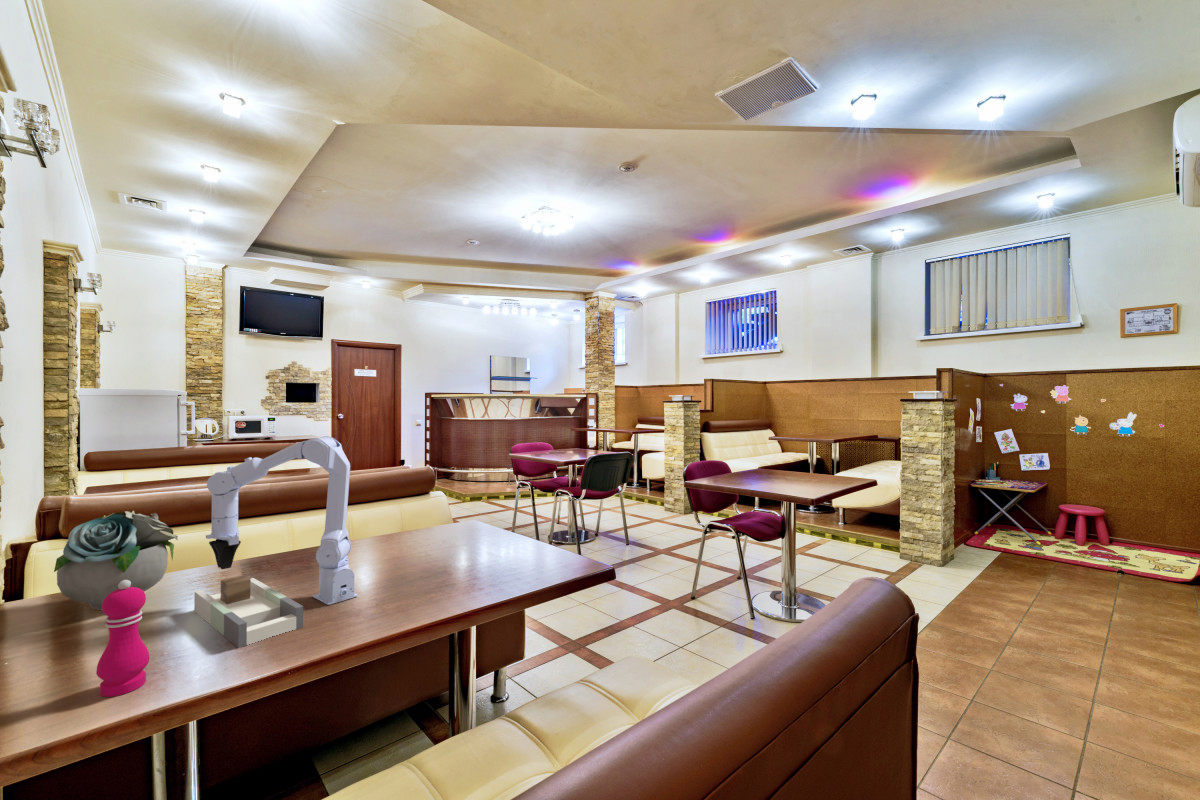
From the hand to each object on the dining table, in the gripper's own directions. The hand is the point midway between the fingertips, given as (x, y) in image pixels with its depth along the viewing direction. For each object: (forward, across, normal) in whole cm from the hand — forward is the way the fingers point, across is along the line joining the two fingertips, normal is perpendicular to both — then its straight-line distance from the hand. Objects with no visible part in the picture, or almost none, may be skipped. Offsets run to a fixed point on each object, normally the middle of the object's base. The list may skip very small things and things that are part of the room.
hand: (224, 567), depth 134 cm
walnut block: (+6, +8, 0) cm, 11 cm away
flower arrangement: (+10, -22, -18) cm, 30 cm away
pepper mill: (+10, +34, -25) cm, 43 cm away
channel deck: (+9, +16, 0) cm, 19 cm away
